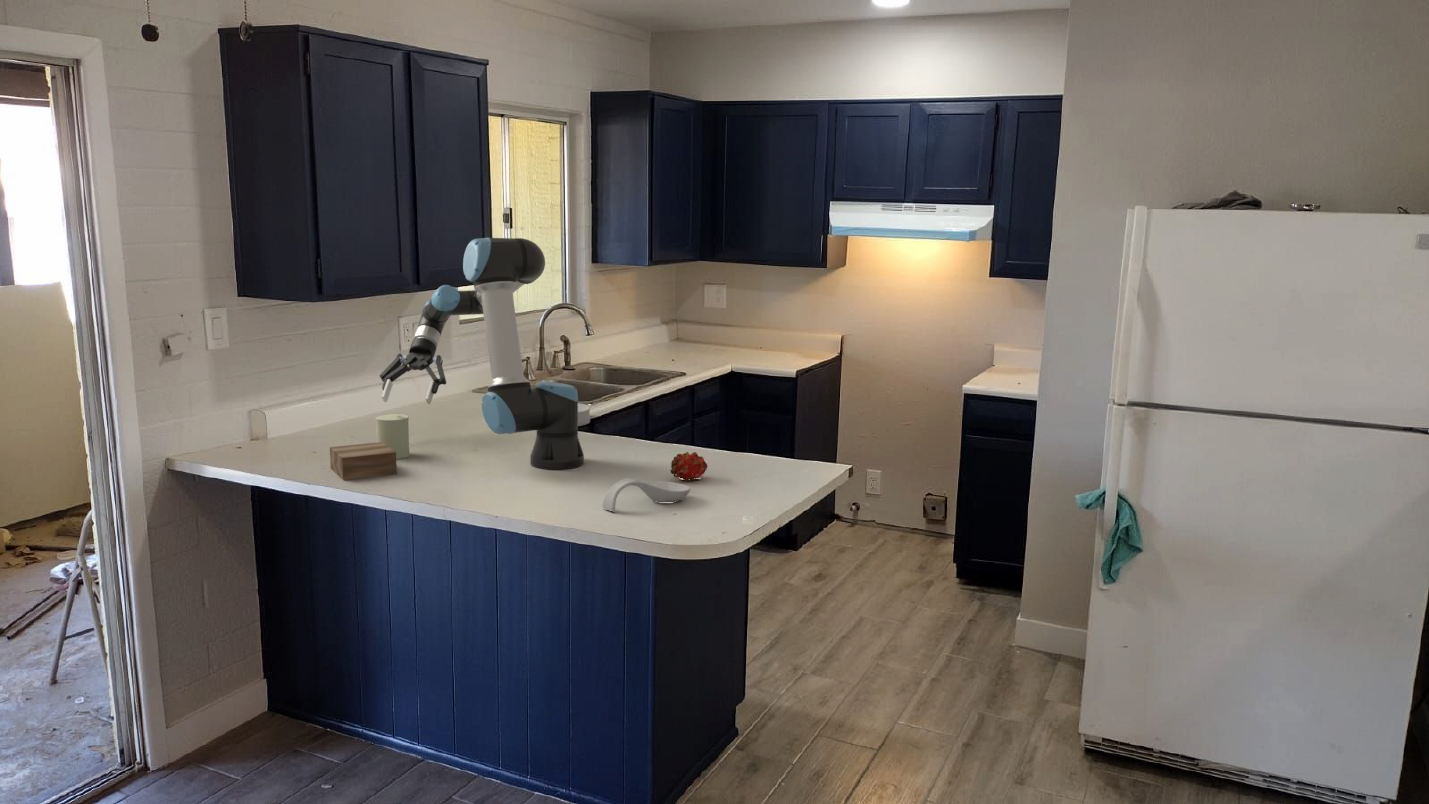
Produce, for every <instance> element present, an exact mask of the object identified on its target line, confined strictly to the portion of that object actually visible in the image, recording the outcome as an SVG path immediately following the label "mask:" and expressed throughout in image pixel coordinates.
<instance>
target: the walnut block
mask: <svg viewBox="0 0 1429 804" xmlns="http://www.w3.org/2000/svg"><path fill="white" fill-rule="evenodd" d="M329 461H330V469H331V470H332V471H333V473H335V474H336V475H337V476H338V477H339V478H340V479H342V481H347V480H349V481H350V480H356V479H357V478H358V479H364V478H365V477H366V478H374V477H381V476H382V477H383V476H390V475H397V474H398V471H397V468H398V466H397V459H396V452H395V451H394V450H392V449H391V448H389V447H388V446H387V445H385V444H384V443H382V442H378V443H377V442H368V443H359V444H350V445H339V446H329Z"/></svg>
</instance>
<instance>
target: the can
mask: <svg viewBox="0 0 1429 804" xmlns="http://www.w3.org/2000/svg"><path fill="white" fill-rule="evenodd" d="M409 426H410V425H409V416H408V415H407V414H401V413H389V414H388V413H386V414H381V415H377V416H376V417H375V429H376V431H375V432H376V443H378V442H382V443H384V444H385V445H387V446H388V447H389V448H391V449H392V450H394V451H395V452H396V460H401V459H402V458H403V459H406V458H408V456H409V457H410V456H411V453H410V434H409Z"/></svg>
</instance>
